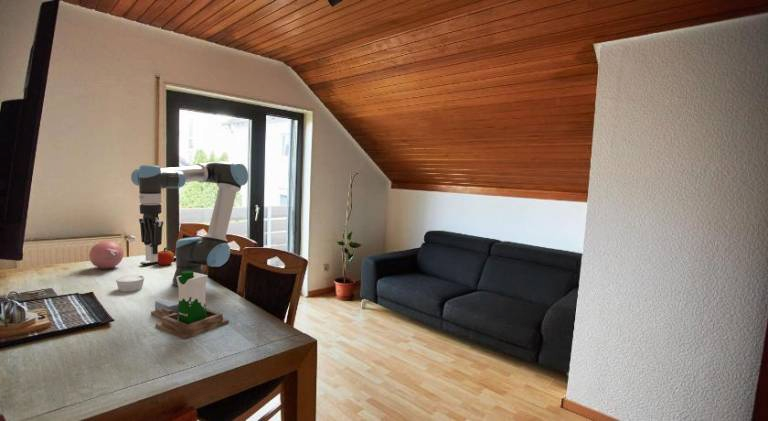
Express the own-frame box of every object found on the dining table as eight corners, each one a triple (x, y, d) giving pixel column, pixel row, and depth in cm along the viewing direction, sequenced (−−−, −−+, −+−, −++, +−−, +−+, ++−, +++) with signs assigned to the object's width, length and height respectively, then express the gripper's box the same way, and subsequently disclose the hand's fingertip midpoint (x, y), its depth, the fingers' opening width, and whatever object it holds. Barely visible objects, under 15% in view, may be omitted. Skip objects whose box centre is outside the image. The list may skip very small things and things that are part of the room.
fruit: (151, 265, 224) (151, 248, 222) (163, 262, 233) (163, 245, 232) (166, 267, 222) (166, 250, 221) (177, 263, 231) (177, 247, 230)
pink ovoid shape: (95, 275, 201) (94, 246, 199) (86, 267, 214) (85, 240, 212) (129, 270, 212) (129, 243, 211) (119, 263, 226) (118, 237, 224)
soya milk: (174, 323, 144) (173, 271, 142) (195, 315, 153) (194, 266, 150) (190, 328, 141) (189, 275, 138) (211, 320, 149) (210, 269, 147)
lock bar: (164, 306, 159) (163, 298, 159) (178, 312, 154) (178, 303, 154) (155, 309, 156) (155, 301, 155) (169, 315, 151) (169, 306, 151)
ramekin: (147, 289, 184) (147, 278, 183) (119, 294, 175) (119, 283, 175) (140, 284, 191) (140, 273, 191) (113, 288, 183) (113, 277, 182)
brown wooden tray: (180, 305, 165) (180, 296, 165) (228, 322, 150) (228, 312, 150) (136, 318, 150) (136, 308, 149) (184, 339, 134) (184, 327, 134)
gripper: (130, 202, 156) (131, 259, 158) (152, 206, 148) (153, 265, 151) (149, 201, 162) (150, 256, 165) (171, 205, 155) (172, 262, 157)
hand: (151, 260), depth 158 cm, fingers open, 3 cm apart
